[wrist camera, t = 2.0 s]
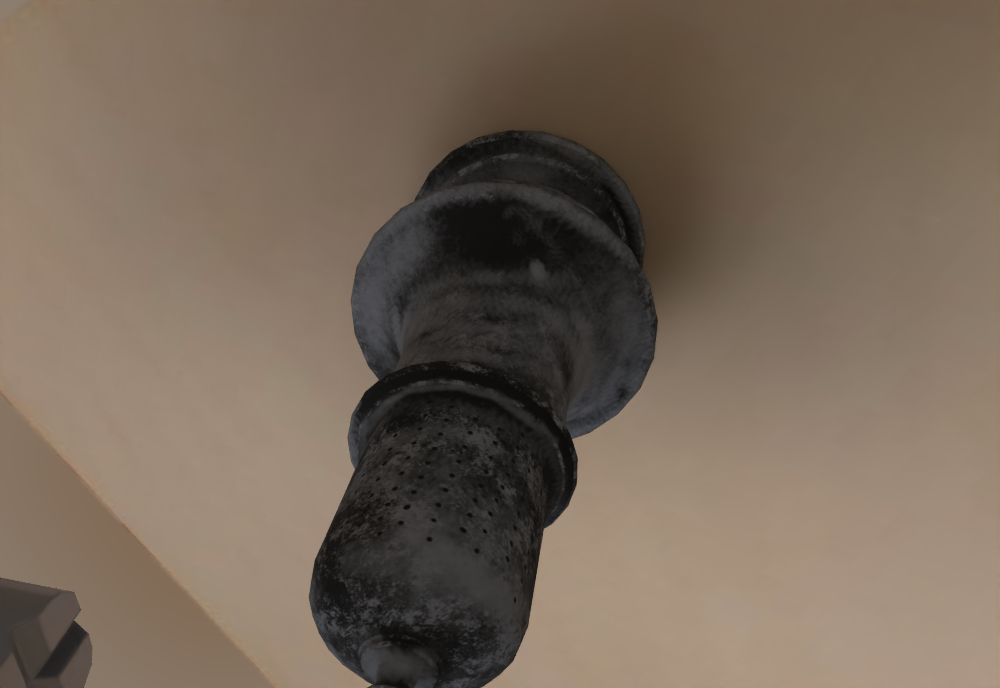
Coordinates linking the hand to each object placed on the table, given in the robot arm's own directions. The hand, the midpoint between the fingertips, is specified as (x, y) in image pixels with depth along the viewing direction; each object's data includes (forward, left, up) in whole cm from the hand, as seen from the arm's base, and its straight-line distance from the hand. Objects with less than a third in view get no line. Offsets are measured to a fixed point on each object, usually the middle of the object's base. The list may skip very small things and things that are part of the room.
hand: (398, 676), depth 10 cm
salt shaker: (0, 0, -11) cm, 11 cm away
